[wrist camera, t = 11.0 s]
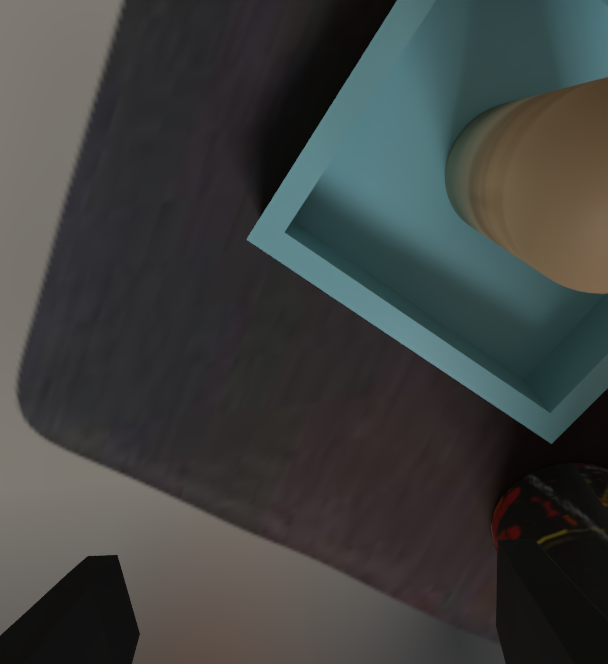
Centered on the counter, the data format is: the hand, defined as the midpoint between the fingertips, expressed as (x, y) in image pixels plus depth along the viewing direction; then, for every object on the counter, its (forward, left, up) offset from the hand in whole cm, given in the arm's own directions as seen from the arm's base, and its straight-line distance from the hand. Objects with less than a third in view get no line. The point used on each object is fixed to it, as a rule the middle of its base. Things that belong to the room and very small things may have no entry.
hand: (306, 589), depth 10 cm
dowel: (-1, -9, -10) cm, 13 cm away
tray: (-1, -9, -10) cm, 14 cm away
